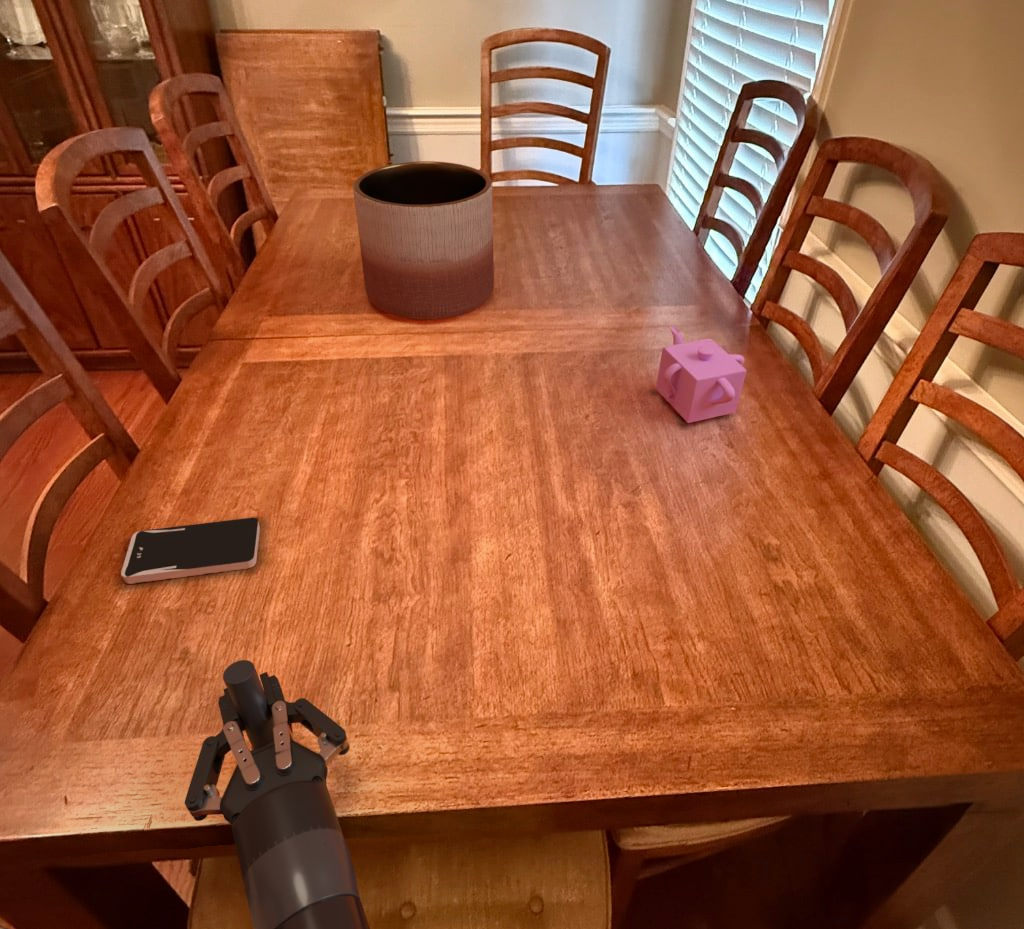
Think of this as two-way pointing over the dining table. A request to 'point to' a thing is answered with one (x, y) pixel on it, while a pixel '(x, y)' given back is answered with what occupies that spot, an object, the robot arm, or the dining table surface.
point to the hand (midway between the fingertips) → (247, 685)
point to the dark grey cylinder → (250, 702)
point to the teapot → (700, 378)
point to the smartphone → (191, 550)
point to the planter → (426, 238)
